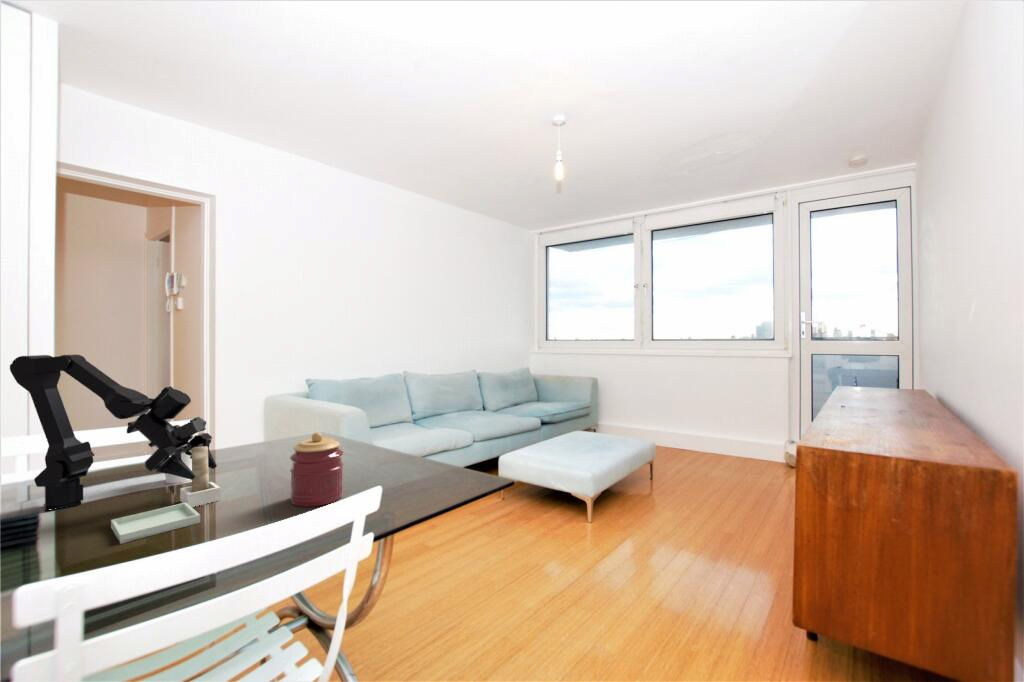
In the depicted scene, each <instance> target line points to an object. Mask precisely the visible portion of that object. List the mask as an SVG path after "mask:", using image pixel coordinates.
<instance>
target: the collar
mask: <svg viewBox="0 0 1024 682" xmlns="http://www.w3.org/2000/svg"><path fill="white" fill-rule="evenodd" d="M179 492H180V497H179V498H180V501H181V502H182V503H185V502H186V503H187V504H189V505H190V506H191V507H192V508H195V506H196V507H199V505H200V506H205V505H208V504H207V503H209V504H212V503H211V502H213V503H216V501H217V502H220V501H221V487H220V486H219V485H217V484H216V483H214V482H213V481H210V482H209V481H208V489H207V490H202V491H198V492H193V493H192V485H190V486H185V487H180V488H179ZM181 502H180V503H181Z"/></svg>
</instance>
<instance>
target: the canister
mask: <svg viewBox="0 0 1024 682" xmlns="http://www.w3.org/2000/svg"><path fill="white" fill-rule="evenodd" d="M340 445H341V444H340V442H339V441H337V440H335V439H334V438H332V437H323V434H322V433H321V432H317V431H316V432H314V433H313V434H312V435H311V438H309V439H303V440H301V441H300V442H299V443H298V444H296V445H295V446H294V447H293V450H294V453H292V454H291V455H290V461H292V464H291V465H292V466H291V468H290V470H289V471H290V487H291V488H290V493H289V494H290V495H289V497H290V500H291V503H292V504H293V505H294V506H297V507H302V508H303V507H305V508H306V507H308V508H309V507H319V506H324V505H328V504H331V503H334V502H337V501H338V500H340V499H341V498H342V497H343V493H344V491H345V490H344V483H343V481H344V468H343V467H344V462H342V456H343V454H344V451H343V449H342V448H340V447H339V446H340ZM341 496H342V497H341ZM340 497H341V498H340Z"/></svg>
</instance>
